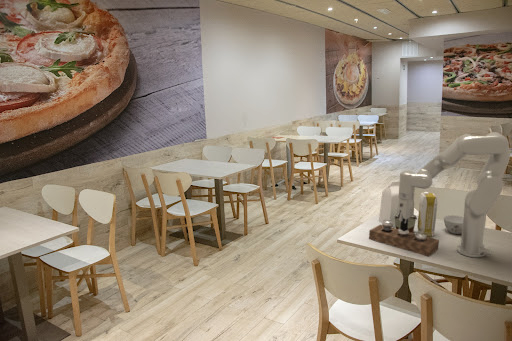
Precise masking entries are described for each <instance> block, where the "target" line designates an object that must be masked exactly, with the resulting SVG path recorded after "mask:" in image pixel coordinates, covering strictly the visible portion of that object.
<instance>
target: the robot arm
mask: <svg viewBox="0 0 512 341" xmlns="http://www.w3.org/2000/svg"><path fill="white" fill-rule="evenodd" d="M509 142H510V141H509V140H508V138H507V137H506V136H504V135H503V134H501V133H499V132H496V131H494V132H493V131H492V132H489V133H487V134H486V135H482V136H480V135H479V136H477V135H472V134H469V133H464V134H462V135H460V136H459V137H458V138H457V139H455V140H454V141H453V142H452V143H451V144H450V145H449V146H448V147H446V148H445V149H444V150H443V151H442V152H440V153H439V154H438V155H437V156H435V157H434V158H433V159H431V160H430V161H428V163H426V164H425V165H424V166H423V167H422V168H420V169H419V170H418V171H417V172H416V173H415V172H414V171H411V170H409V171H408V170H406V171H405V170H404V171H401V172H400V174H399V180H400V182H399V196H398V198H399V203H398V211H397V217H398V218H399V221H400V222H401V225H400V229H401V230H405V231H406V230H408V223H407V222H408V221H409V218H410V217H412V216H413V215H415V194H416V193H415V191H416V188H418V189H423V190H425V189H429V188H431V187H432V185H433V179H434V178H435V177H437V176H438V175H439V174H441V173H442V172H444V171H445V170H449V169H452V168H453V167H455V166H456V165H458V164H459V162H460V161H462V160H464V158H465V157H467V156H468V155H469V156H479V155H480V156H482V155H483V156H484V155H486V156H487V155H488V156H487V160H486V161H485V164H484V166H483V167H482V169H481V171H480V172H479V173H478V174H479V175H478V176H477V178H476V184H477V187H476V189H473V190H470V191H469V192H467V193H466V195H465V198H464V203H463V204H464V209H463V211H464V212H463V217H464V219H463V227H462V232H461V236H460V244H459V245H458V246H457V247H456V252H457V253H459V254H460V255H463V256H465V257H469V258H482V257H485V256H486V255H489V256H491V255H492V254H493V252H492V250H491V249H490V248H486V247H485V244H484V236H485V229H486V222H487V214H489V213H490V211H491V210H492V209H493V207H494V206H495V204H496V203H497V200H498V198H499V197H500V195H501V194H502V192H503V187H504V182H503V180H502V178H503V175H504V173H505V171H506V169H507V167H508V165H509V163H510V158H511V149H510V143H509Z"/></svg>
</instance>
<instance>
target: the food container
mask: <svg viewBox="0 0 512 341" xmlns="http://www.w3.org/2000/svg"><path fill="white" fill-rule="evenodd" d="M394 219H395V227H394V228H396V229H399V228H400V225H401V222H400V221H399V218H398V217H397V214H395V216H394ZM417 221H418V216H417V215H416V214H414V215H413V216H412V217H410V218H409V221H408V222H407V223H408V230H409V232H411V233H414V231H415V226H416V222H417Z"/></svg>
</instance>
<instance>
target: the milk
mask: <svg viewBox="0 0 512 341" xmlns="http://www.w3.org/2000/svg"><path fill="white" fill-rule="evenodd" d="M399 182H400V179H399V180H391V181H390V183H389V184H388V186H387V187H385V188H384V189H382V190H383V191H382V192H381V200H380V208H379V217H378V221H379V222H380V223H382V222H383V220H392V221H393V226H392V228H396V227H395V219H394V216H395V214H397V211H398V203H399V198H398V196H399Z"/></svg>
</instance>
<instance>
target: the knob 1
mask: <svg viewBox="0 0 512 341" xmlns="http://www.w3.org/2000/svg"><path fill="white" fill-rule="evenodd" d="M381 225H382V226H383V231H384V232H387V233H390V232H391V227H392V226H393V221H392V220H383V222H382V224H381ZM392 228H393V227H392Z"/></svg>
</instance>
